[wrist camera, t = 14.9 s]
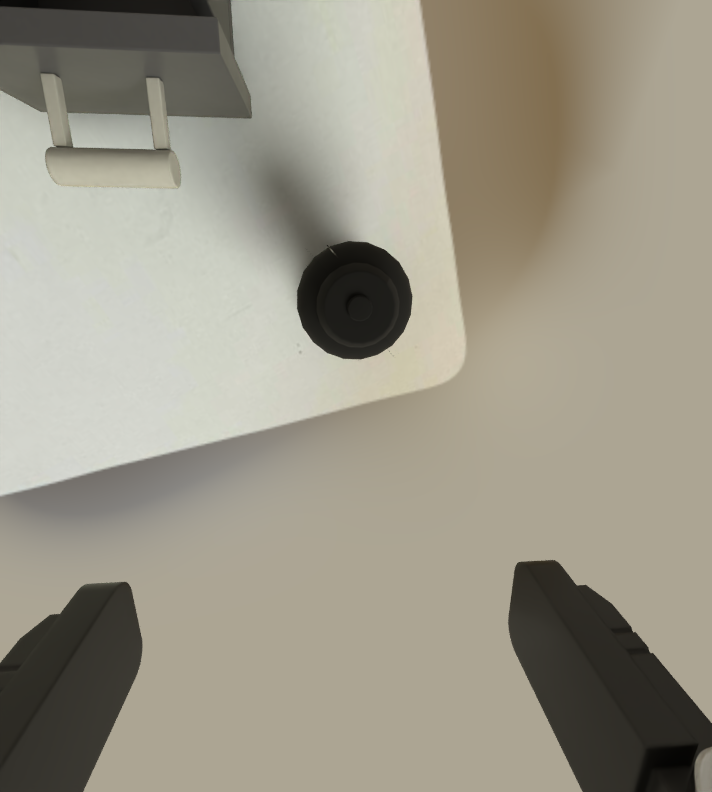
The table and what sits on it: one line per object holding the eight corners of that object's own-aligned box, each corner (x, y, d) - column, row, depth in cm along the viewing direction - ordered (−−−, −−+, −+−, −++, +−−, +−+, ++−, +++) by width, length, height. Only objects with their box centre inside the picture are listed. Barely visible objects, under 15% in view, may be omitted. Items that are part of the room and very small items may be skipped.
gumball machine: (276, 283, 27) (252, 294, 18) (343, 218, 27) (356, 193, 17) (345, 357, 29) (357, 403, 20) (410, 298, 28) (455, 316, 19)
